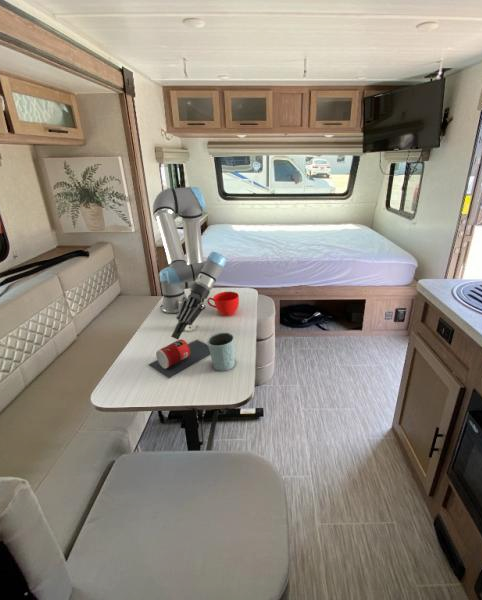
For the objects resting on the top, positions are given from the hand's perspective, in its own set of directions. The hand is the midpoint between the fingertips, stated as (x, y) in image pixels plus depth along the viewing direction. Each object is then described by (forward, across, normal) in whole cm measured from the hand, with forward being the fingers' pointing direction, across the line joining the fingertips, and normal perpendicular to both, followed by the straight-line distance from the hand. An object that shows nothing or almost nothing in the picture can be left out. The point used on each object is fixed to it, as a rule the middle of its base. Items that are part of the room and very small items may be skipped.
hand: (174, 338), depth 129 cm
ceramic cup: (-22, -18, +37) cm, 47 cm away
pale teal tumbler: (+1, +18, +14) cm, 22 cm away
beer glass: (-7, -20, +22) cm, 30 cm away
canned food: (+2, 0, +7) cm, 7 cm away
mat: (+6, 0, +9) cm, 11 cm away
